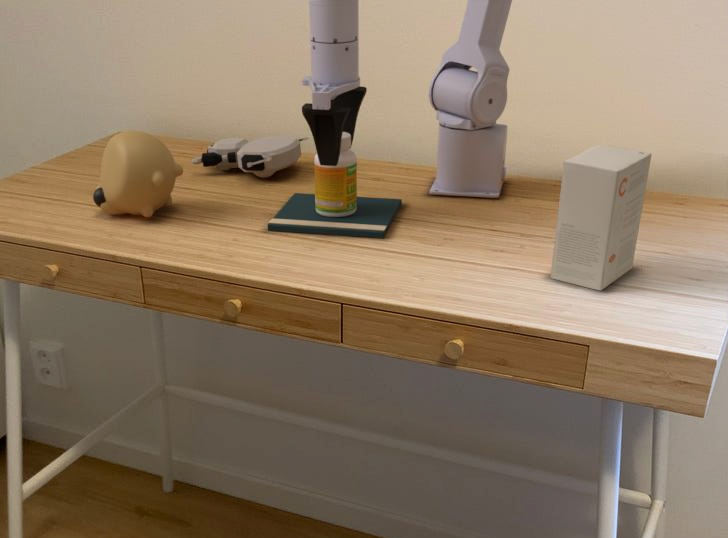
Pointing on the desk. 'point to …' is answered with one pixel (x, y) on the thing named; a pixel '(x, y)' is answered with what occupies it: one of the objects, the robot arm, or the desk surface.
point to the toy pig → (136, 175)
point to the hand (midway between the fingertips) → (336, 156)
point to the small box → (599, 215)
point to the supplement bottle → (337, 183)
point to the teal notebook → (364, 222)
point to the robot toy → (253, 154)
